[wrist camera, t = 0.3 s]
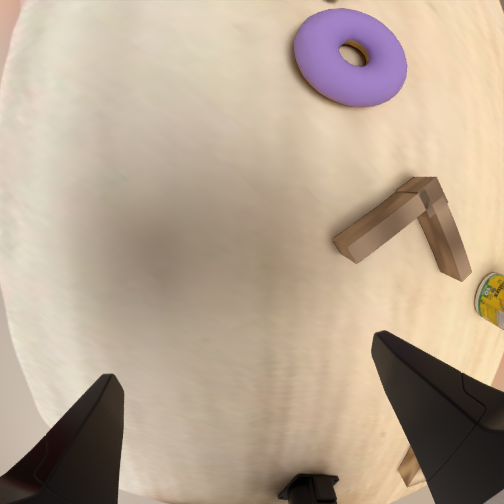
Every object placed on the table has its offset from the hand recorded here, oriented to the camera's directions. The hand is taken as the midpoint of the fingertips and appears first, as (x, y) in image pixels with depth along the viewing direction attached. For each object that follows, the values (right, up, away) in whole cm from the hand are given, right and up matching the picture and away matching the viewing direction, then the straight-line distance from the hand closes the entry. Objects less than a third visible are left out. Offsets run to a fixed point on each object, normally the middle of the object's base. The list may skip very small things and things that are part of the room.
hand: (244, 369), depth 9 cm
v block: (+14, +7, +15) cm, 21 cm away
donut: (+8, +20, +12) cm, 25 cm away
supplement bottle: (+28, -1, +17) cm, 33 cm away
